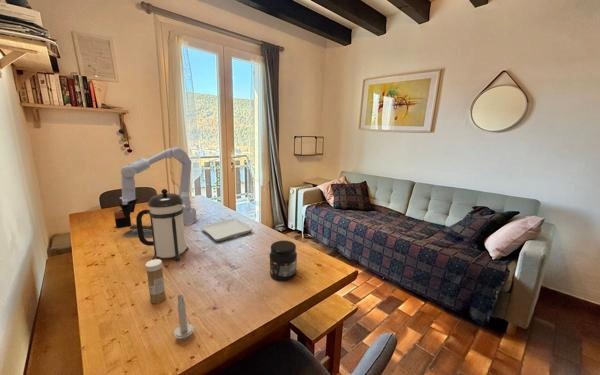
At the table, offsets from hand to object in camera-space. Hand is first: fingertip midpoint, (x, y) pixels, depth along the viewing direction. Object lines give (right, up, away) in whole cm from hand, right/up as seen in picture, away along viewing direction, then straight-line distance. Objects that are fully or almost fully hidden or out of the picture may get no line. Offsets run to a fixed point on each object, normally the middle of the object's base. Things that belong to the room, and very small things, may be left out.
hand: (129, 214), depth 131 cm
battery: (-9, -8, +9) cm, 15 cm away
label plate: (+7, -10, +2) cm, 12 cm away
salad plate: (+50, -11, +4) cm, 52 cm away
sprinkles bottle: (+44, -23, -50) cm, 70 cm away
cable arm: (+8, -8, +1) cm, 11 cm away
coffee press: (+32, -16, -22) cm, 42 cm away
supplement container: (+83, -20, -34) cm, 92 cm away
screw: (+59, -26, -64) cm, 91 cm away
